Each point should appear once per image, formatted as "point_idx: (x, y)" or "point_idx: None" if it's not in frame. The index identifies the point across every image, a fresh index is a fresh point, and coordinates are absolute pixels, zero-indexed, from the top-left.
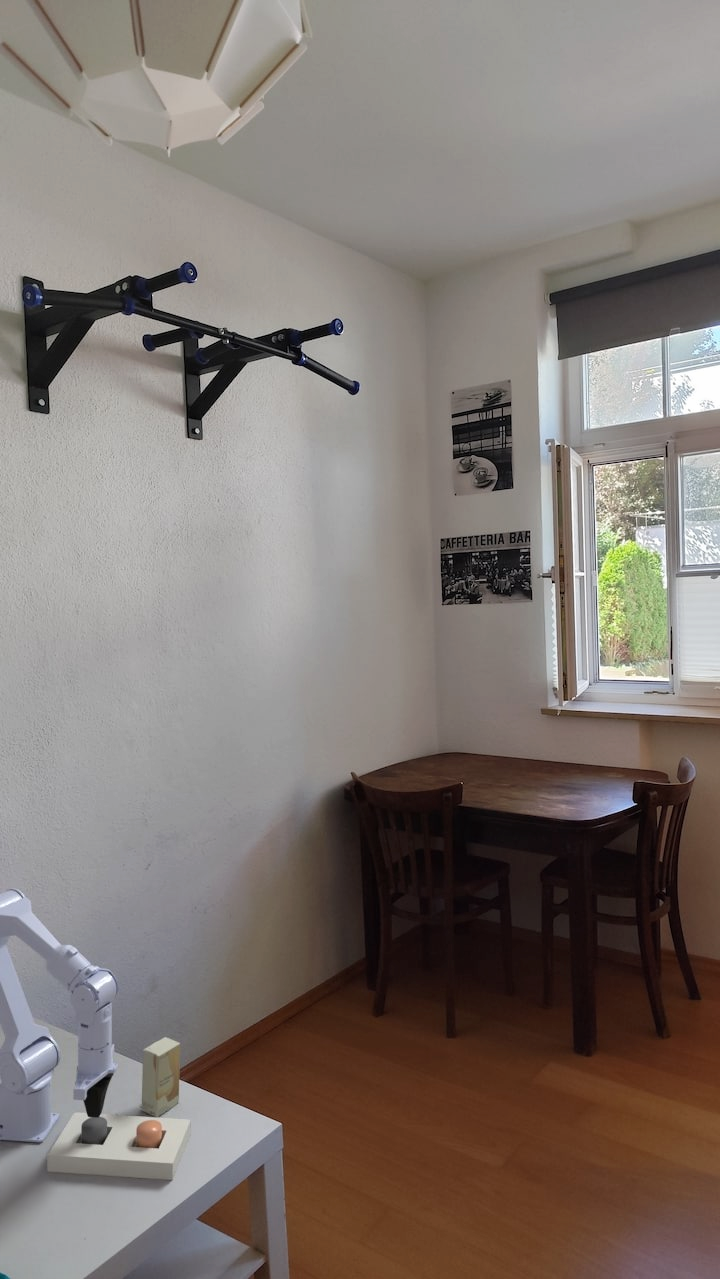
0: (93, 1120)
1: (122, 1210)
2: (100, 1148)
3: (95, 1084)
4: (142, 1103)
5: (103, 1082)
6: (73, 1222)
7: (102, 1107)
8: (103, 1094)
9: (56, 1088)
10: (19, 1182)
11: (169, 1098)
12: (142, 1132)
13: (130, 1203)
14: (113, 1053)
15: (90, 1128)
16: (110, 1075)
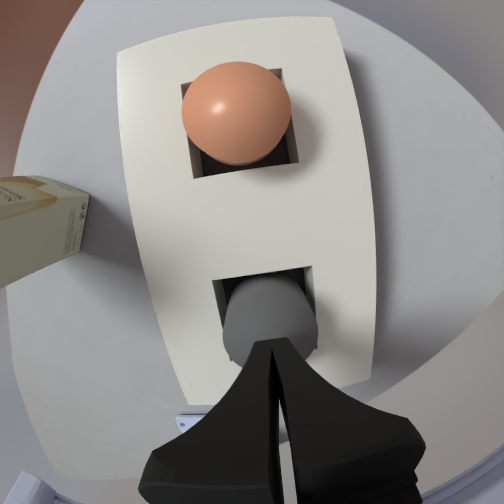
0: (250, 350)
1: (436, 126)
2: (330, 264)
3: (402, 487)
4: (68, 253)
5: (352, 476)
6: (473, 217)
7: (264, 351)
8: (303, 398)
9: (114, 434)
10: (386, 379)
11: (38, 183)
12: (273, 119)
13: (416, 114)
14: (27, 480)
15: (298, 338)
16: (241, 492)
